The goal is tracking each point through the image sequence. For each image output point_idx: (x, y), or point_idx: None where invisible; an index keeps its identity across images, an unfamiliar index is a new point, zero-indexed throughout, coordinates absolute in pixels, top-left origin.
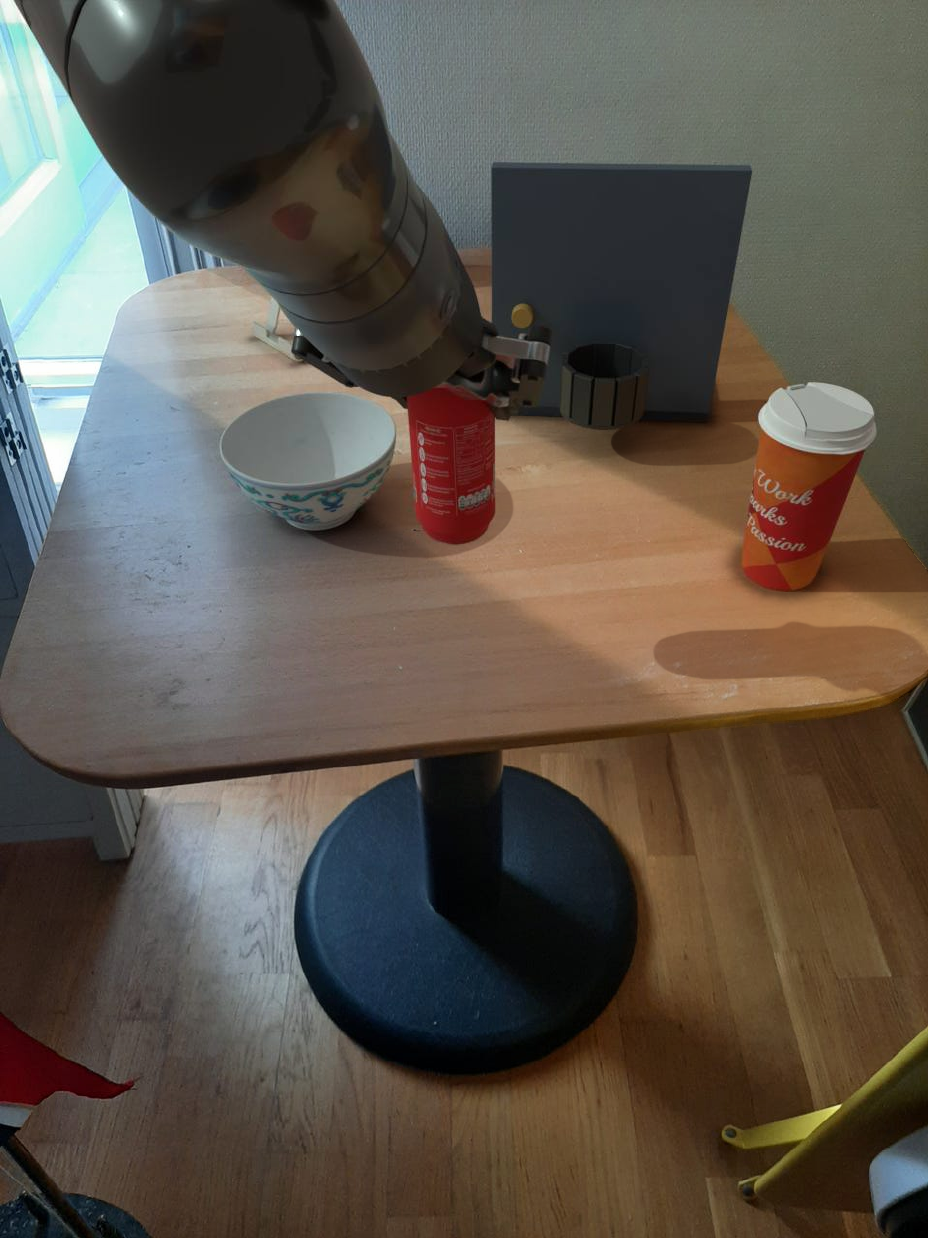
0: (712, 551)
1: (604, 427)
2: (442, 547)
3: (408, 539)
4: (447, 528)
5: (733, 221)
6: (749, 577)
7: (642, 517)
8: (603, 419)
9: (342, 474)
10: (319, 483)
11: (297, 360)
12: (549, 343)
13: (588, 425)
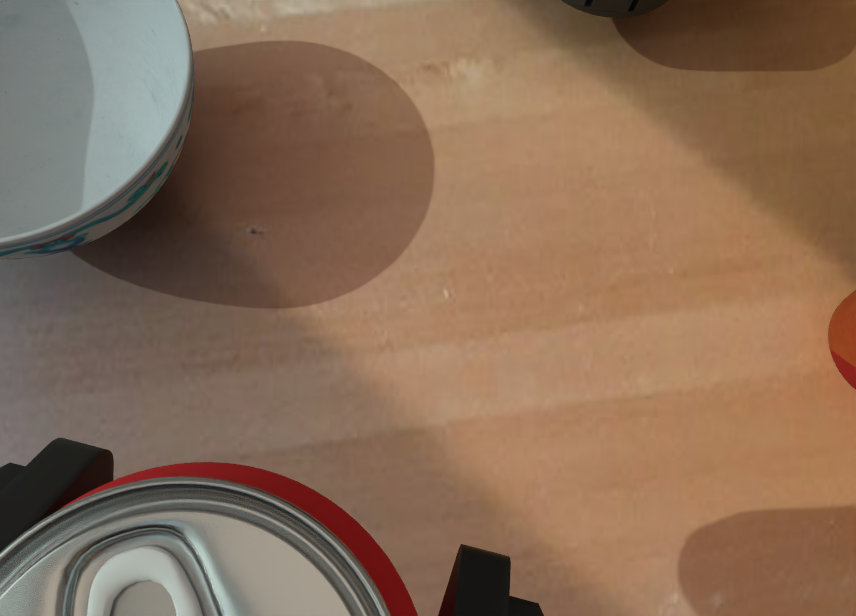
0: (779, 300)
1: (614, 13)
2: (304, 280)
3: (241, 257)
4: None
5: None
6: (841, 372)
7: (661, 207)
8: (616, 1)
9: (108, 95)
10: (12, 241)
11: None
12: None
13: (584, 7)
